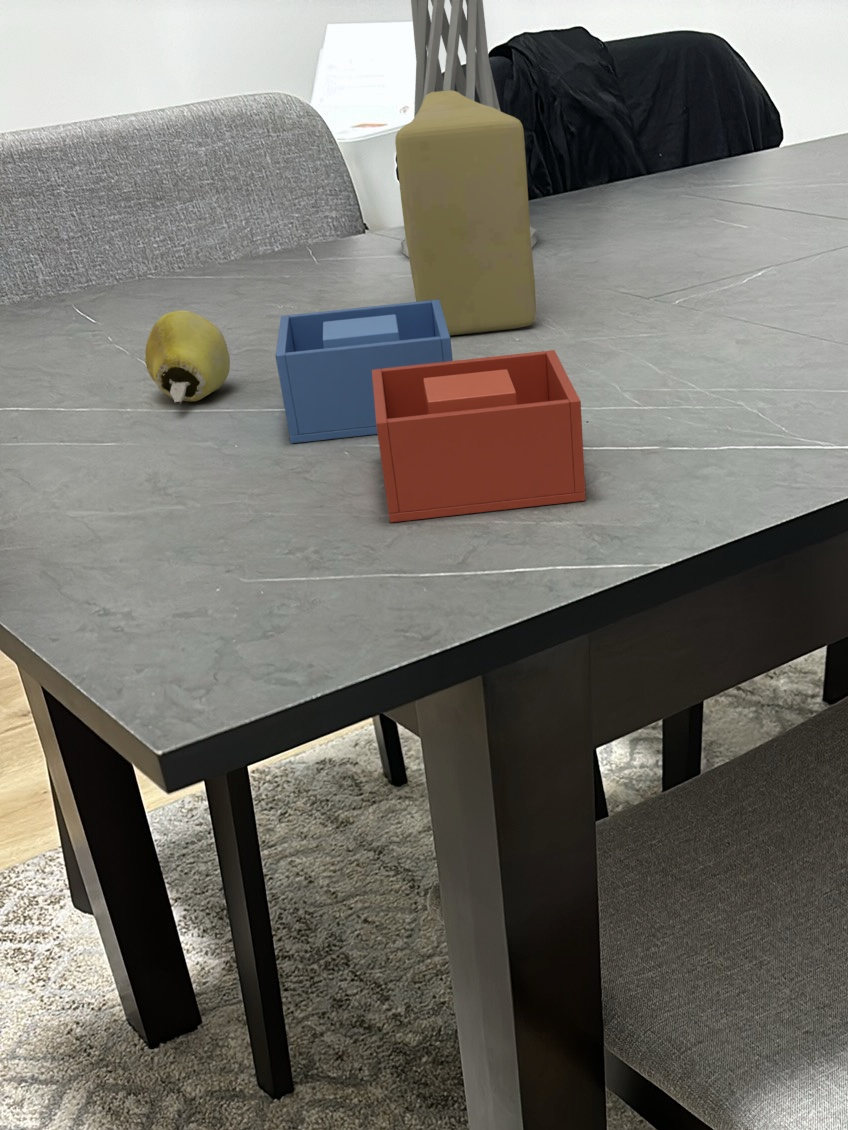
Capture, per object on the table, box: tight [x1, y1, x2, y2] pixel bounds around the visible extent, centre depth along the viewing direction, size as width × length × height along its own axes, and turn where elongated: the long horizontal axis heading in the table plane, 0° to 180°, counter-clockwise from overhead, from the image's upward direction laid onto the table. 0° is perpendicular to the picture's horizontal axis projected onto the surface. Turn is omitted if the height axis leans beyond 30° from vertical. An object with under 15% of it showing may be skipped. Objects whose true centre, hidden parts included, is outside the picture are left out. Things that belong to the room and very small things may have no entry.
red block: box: [423, 369, 517, 415], centre depth 81 cm, size 5×5×5 cm
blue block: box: [323, 314, 400, 349], centre depth 94 cm, size 5×5×5 cm
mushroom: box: [144, 309, 231, 405], centre depth 100 cm, size 6×6×10 cm
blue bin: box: [275, 299, 454, 444], centre depth 95 cm, size 11×11×6 cm
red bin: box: [372, 349, 587, 523], centre depth 81 cm, size 11×11×6 cm
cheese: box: [394, 90, 537, 336], centre depth 115 cm, size 22×10×15 cm, turn 6°
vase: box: [400, 0, 538, 258], centre depth 129 cm, size 14×13×35 cm
